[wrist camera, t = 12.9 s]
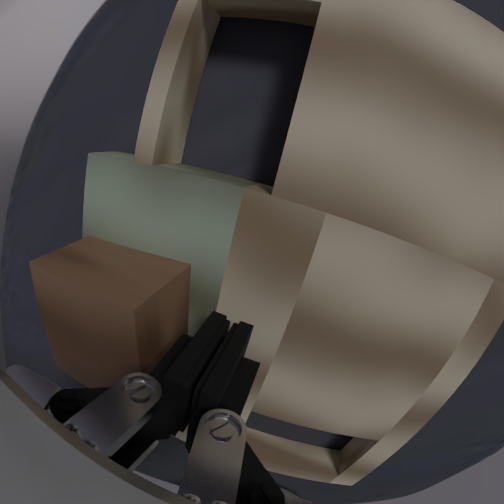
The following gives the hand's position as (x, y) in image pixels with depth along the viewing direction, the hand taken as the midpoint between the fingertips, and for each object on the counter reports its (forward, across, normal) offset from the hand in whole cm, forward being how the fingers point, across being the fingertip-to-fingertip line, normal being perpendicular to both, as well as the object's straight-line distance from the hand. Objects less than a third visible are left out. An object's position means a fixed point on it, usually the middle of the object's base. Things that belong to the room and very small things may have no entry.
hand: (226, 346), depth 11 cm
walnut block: (+1, +5, +1) cm, 5 cm away
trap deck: (+4, -2, -2) cm, 5 cm away
